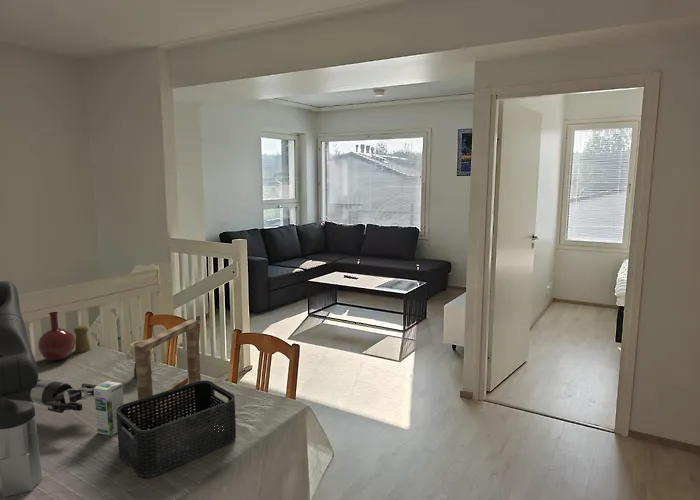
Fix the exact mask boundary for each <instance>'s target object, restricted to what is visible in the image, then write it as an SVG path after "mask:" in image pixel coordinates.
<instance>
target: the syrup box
mask: <svg viewBox="0 0 700 500" xmlns="http://www.w3.org/2000/svg"><path fill="white" fill-rule="evenodd" d="M97 385H98V386H96V387H95V388H94V397H93V398H94V399H93V401H94V409H95V411H94V412H95V422H96V432H97V433H96V434H102V435H107V436H111V437H112V436H114V435H115V434H118V430H117V428H118V427H117V413H116V409H117V408H118V407H119V406H121V405H123V404H124V393H123V391H124V390H123V383H122V382H117V381H116V382H114V381H111V380H110V381H109V380H107V381H104V382H101V383H99V384H97Z"/></svg>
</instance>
